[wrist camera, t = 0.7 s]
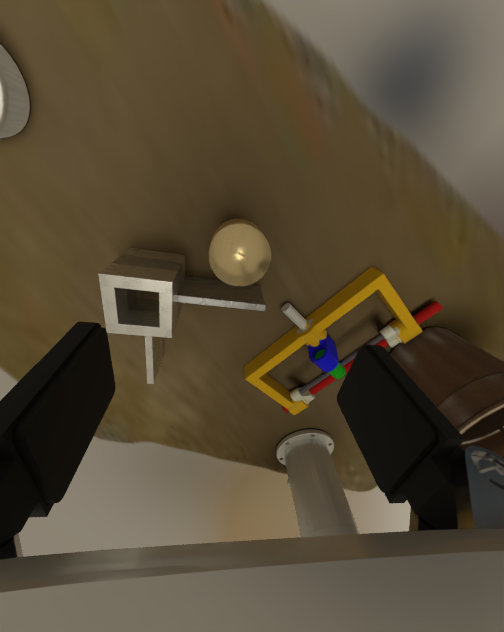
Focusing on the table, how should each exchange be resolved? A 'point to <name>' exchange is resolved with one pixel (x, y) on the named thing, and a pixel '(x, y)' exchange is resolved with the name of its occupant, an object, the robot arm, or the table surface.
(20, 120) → the ramekin
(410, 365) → the plant pot
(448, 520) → the robot arm
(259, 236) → the wooden bell shape
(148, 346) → the white corner connector
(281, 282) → the table surface
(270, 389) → the mechanical clamp
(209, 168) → the table surface
